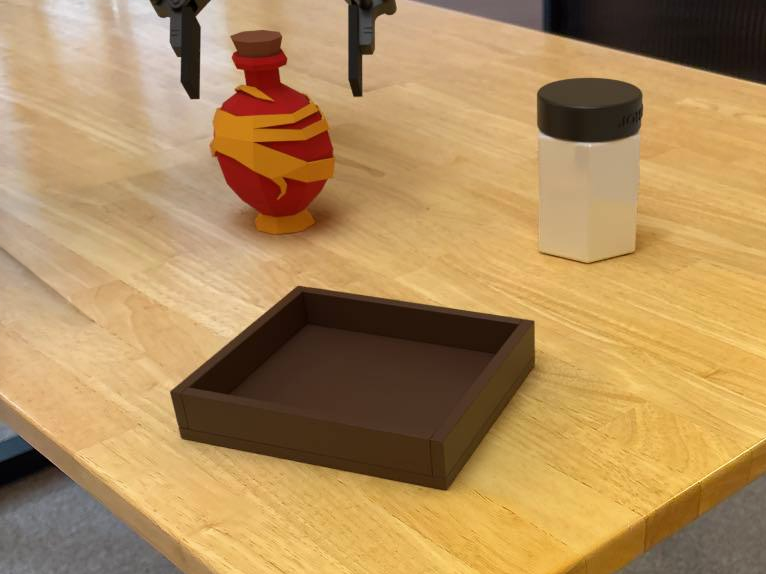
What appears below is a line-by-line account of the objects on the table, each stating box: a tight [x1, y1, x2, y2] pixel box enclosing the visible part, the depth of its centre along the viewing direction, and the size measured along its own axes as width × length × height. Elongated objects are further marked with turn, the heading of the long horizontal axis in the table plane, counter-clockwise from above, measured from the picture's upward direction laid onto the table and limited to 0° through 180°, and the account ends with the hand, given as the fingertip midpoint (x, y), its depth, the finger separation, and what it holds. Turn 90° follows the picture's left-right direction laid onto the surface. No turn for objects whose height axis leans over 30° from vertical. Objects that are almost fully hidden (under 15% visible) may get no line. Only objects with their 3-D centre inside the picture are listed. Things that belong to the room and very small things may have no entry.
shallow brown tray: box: [169, 285, 536, 491], centre depth 69 cm, size 18×16×3 cm
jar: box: [536, 77, 644, 264], centre depth 86 cm, size 9×8×12 cm
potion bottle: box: [208, 29, 336, 235], centre depth 89 cm, size 10×10×15 cm
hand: (272, 90), depth 89 cm, fingers open, 13 cm apart
